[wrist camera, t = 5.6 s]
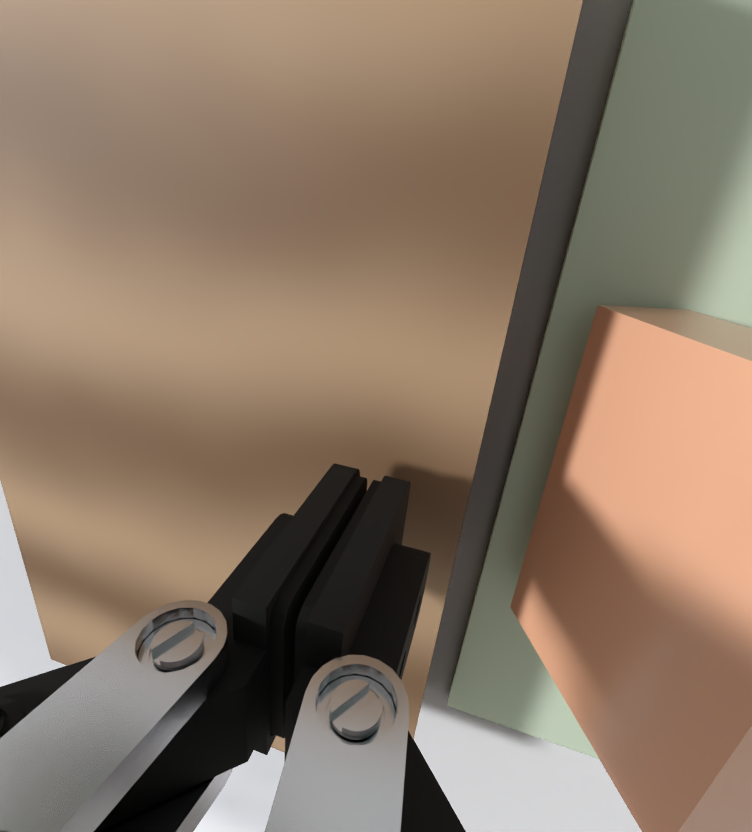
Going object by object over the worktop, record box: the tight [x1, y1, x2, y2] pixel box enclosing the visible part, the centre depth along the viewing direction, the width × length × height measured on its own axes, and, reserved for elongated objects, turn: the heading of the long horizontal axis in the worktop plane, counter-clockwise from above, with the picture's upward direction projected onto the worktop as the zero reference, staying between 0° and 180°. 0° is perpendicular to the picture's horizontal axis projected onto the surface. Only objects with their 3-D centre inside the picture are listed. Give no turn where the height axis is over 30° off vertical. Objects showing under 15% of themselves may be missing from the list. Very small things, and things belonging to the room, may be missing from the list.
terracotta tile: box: [510, 305, 752, 832], centre depth 10 cm, size 9×6×2 cm
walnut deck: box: [0, 0, 583, 752], centre depth 14 cm, size 22×14×4 cm, turn 174°
